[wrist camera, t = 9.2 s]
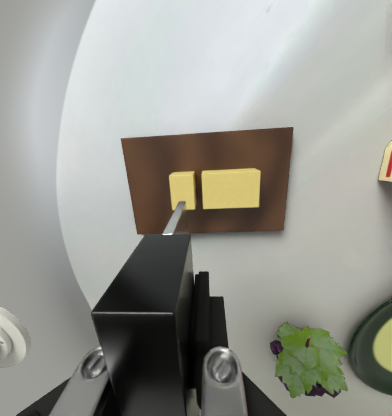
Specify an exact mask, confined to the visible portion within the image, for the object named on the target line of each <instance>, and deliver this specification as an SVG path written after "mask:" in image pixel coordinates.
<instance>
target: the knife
mask: <svg viewBox="0 0 392 416" xmlns="http://www.w3.org/2000/svg"><path fill="white" fill-rule="evenodd" d="M194 293H195V290H194V276H193V262H192V248H191V235H190V234H188V222H187V208H186V201H179V202H178V204H177V206H176V208H175V210H174V212H173V214H172V216H171V218H170V220H169V222H168V224H167V226H166V228H165V230H164V232H163V234H162V235H145V236H144V237H143V239H142V240H141V241H140V243H139V244H138V246H137V247H136V249H135V250H134V251H133V253H132V254H131V256H130V257H129V259H128V260H127V261H126V263H125V264H124V266H123V267H122V269H121V270H120V271H119V273H118V274H117V276H116V277H115V279H114V280H113V281H112V283H111V284H110V286H109V287H108V289H107V290H106V291H105V293H104V294H103V296H102V297H101V299H100V300H99V302H98V303H97V304H96V306H95V307H94V309H93V310H92V312H91V316H92V320H93V323H94V326H95V330H96V333H97V336H98V339H99V343H100V347H101V350H102V353H103V356H104V360H105V363H106V366H107V370H108V373H109V376H110V380H111V383H112V386H113V390H114V393H115V396H116V400H117V403H118V406H119V410H120V413H121V416H199V411H200V410H199V409H200V408H199V406H198V405H197V397H196V389H195V387H194V376H193V365H192V353H191V326H192V315H193V304H194Z"/></svg>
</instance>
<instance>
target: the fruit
mask: <svg viewBox="0 0 392 416" xmlns="http://www.w3.org/2000/svg"><path fill="white" fill-rule="evenodd" d="M277 335H278V340H279V341H277V340H275V341H273V342H271V343H270V348H271V350H272V352H273V354H274V355H277V360H276V361H277V365H276V373H275V377H278V378H279V379H280V381H281V382H282V383H283V384H284V385H285V387H286V389H287V390H288V391H289V392H290V396H291V397H292V398H295V397H296V396H297V395H298V396H299V397H300V394H301V393H303V394H304V395H306V396H315V395H318V396H323V394H324V393H327V394H328V395H330V396H332V397H333V398H335V397H336V396H337V395H338V394H339V393H340V392H341V391H340V390H345V391H348V389H347V385H346V383H345V381H344V380H345V378H344V377H343V376H342V375H344V374H343V372H342V370H341V369H340V368H339V367H338V365H340V366H341V364H342V363H341V361H340V360H339V358H340V357H341V356H343V355H347V353H346V351H345V350H344V349H343V348H341V347H340V346H339V343H336V342H334V341H333V337H329V332H327V331H325V330H323V329H310V328H309V327H308V326H307V327H305V328H303V329H299V328H298V327H294V326H293V325H290V324H289V323H288V322H286V323H284V325H282V327H281V326H280V327H279V331H278V332H277Z"/></svg>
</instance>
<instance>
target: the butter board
mask: <svg viewBox="0 0 392 416" xmlns="http://www.w3.org/2000/svg"><path fill="white" fill-rule="evenodd" d="M292 136H293V127H287V128H272V129H256V130H241V131H226V132H211V133H196V134H181V135H166V136H150V137H135V138H121V142H122V148H123V154H124V160H125V166H126V171H127V177H128V183H129V189H130V195H131V200H132V206H133V212H134V218H135V223H136V229H137V234H163V232H164V230H165V228H166V226H167V224H168V222H169V220H170V218H171V216H172V214H173V212H174V210H172V202H171V192H170V182H169V175H171V174H172V173H173V172H190V171H195V185H196V201H197V203H196V208H195V209H194V210H187V222H188V233H207V232H243V231H280V230H283V229H284V219H285V209H286V198H287V188H288V178H289V167H290V157H291V147H292ZM248 168H255V169H257V170H259V171H261V175H260V195H259V207H250V208H222V209H203V195H202V175H201V174H202V171H209V170H229V169H248Z"/></svg>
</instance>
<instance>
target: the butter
mask: <svg viewBox="0 0 392 416" xmlns="http://www.w3.org/2000/svg"><path fill="white" fill-rule="evenodd" d="M201 175H202V195H203V209H222V208H250V207H259V195H260V175H261V171H259V170H257V169H255V168H248V169H229V170H209V171H202V174H201Z"/></svg>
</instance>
